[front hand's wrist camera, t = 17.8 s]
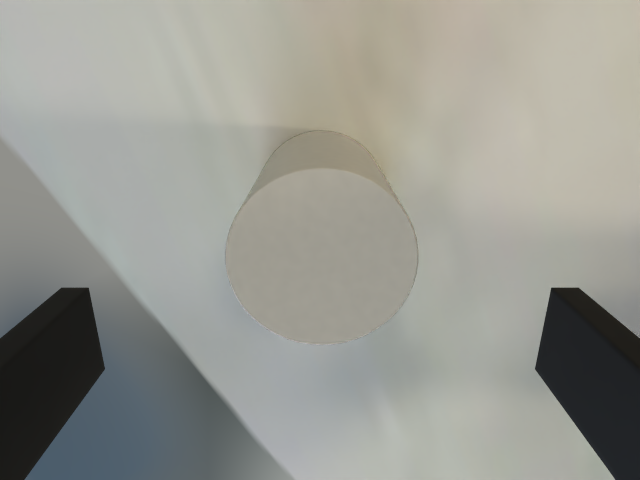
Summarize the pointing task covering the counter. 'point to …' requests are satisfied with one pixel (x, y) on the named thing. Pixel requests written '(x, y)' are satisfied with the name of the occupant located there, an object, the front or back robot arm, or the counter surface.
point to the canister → (321, 243)
